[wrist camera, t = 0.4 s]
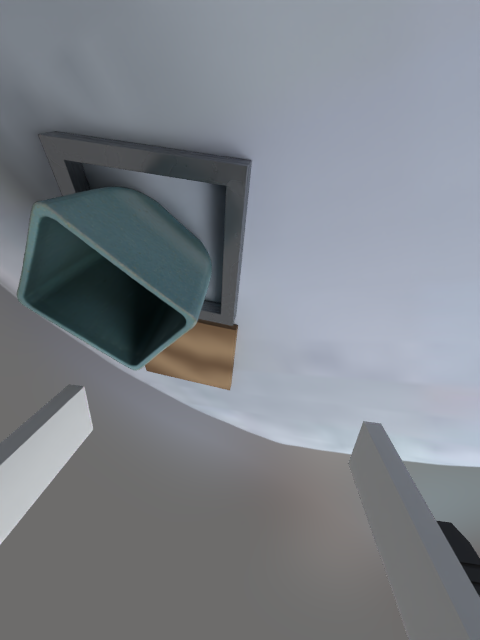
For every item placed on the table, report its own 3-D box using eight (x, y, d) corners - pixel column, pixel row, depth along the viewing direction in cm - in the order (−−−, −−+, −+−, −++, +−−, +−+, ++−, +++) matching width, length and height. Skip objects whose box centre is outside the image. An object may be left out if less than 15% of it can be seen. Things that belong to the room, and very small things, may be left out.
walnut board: (130, 302, 27) (126, 307, 26) (237, 325, 26) (236, 330, 25) (149, 366, 35) (146, 370, 34) (231, 385, 34) (229, 390, 33)
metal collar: (55, 131, 16) (38, 134, 15) (251, 160, 15) (247, 166, 14) (112, 289, 26) (103, 298, 25) (236, 315, 25) (232, 326, 24)
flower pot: (99, 239, 22) (12, 302, 15) (139, 153, 16) (30, 196, 10) (180, 299, 25) (135, 373, 18) (236, 244, 19) (200, 322, 13)
